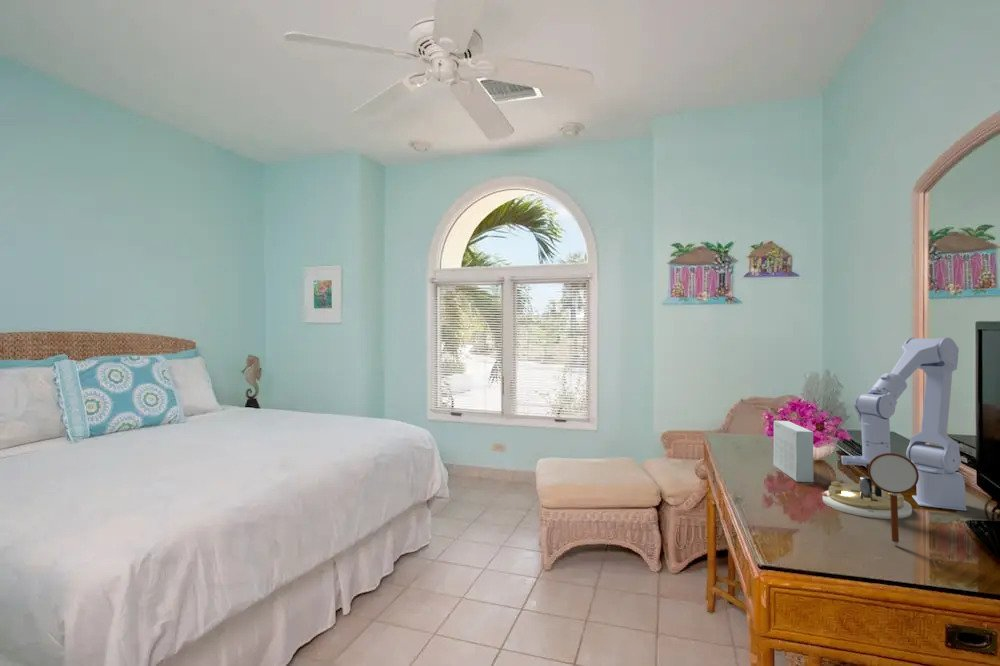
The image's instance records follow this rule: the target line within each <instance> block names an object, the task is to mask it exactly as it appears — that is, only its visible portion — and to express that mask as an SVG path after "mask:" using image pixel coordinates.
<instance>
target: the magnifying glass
mask: <svg viewBox="0 0 1000 666" xmlns="http://www.w3.org/2000/svg"><path fill="white" fill-rule="evenodd" d="M867 473H868V477H869V478H870V479H871V481H872V484H873V485H874V486H875V485H876V486H877V487H878V488H880V489H881V490H883V491H886V492H889V493H891V495H890V505H891V519H890V526H891V530H890V531H891V541H892V543H893V546H895V547H897V546H898V545H899V544H898V543H899V542H900V537H899V534H900V533H899V519H898V505H897V495H896V494H899V493H900V494H904V493H908V492H910V491H912V490H913V489H914V488H916V484H917V482H918V479H919V474H918V470H917V468H916V466H915V465H914V464H913V463H912V462H911V461H910V460H909V459H908V458H907V456H904V455H902V454H900V453H893V452H891V453H885V454H881V455H878V456H876V457H875V458H873V459H872V460H871V462H870V463H869V466H868V469H867Z"/></svg>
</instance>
